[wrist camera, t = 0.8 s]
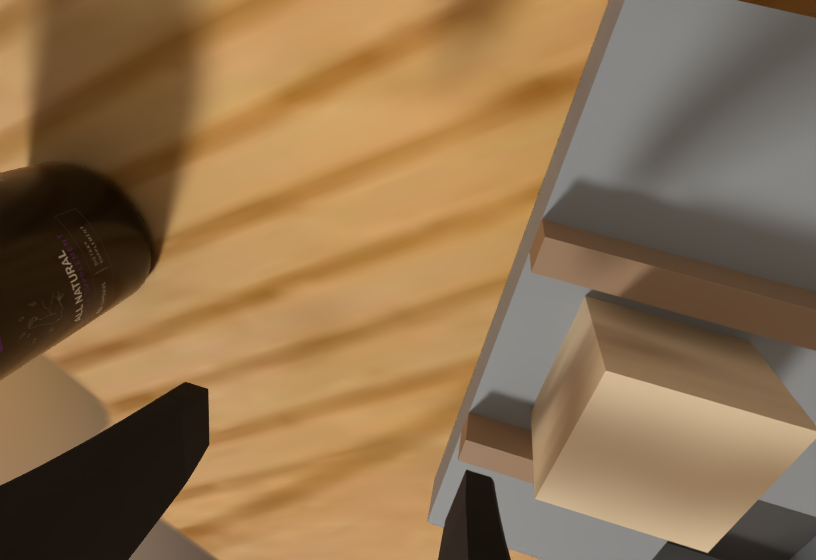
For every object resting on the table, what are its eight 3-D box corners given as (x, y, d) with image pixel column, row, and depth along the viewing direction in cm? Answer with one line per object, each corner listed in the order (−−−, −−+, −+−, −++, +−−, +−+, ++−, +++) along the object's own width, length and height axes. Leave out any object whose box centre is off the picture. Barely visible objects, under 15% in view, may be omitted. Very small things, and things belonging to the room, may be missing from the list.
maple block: (669, 452, 18) (707, 553, 14) (530, 410, 18) (534, 499, 15) (750, 341, 15) (821, 433, 12) (584, 296, 15) (605, 370, 12)
